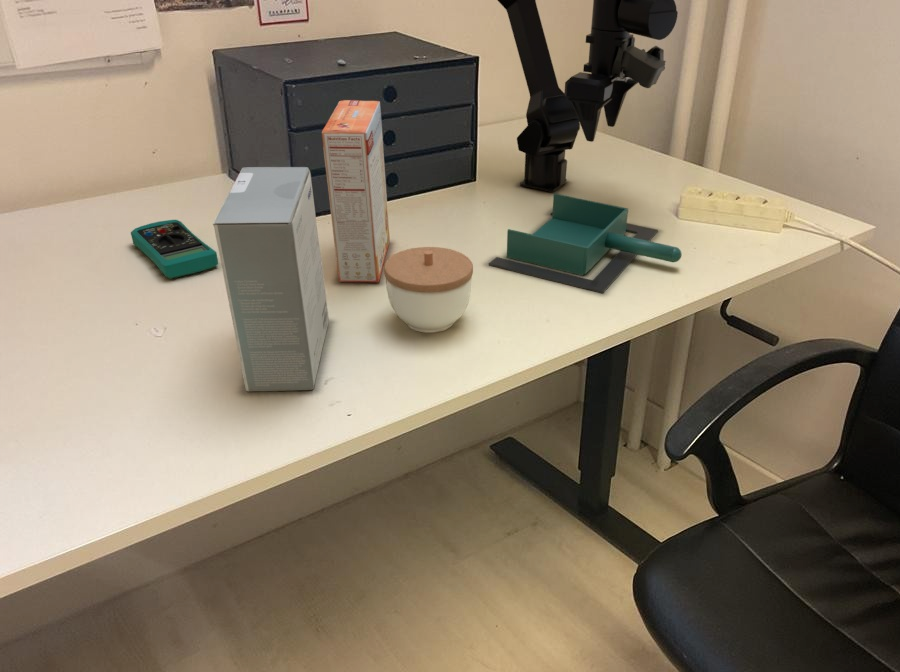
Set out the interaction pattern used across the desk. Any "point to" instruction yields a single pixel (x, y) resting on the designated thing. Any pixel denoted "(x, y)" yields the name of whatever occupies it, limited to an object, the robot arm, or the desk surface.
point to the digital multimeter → (174, 248)
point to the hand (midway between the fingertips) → (600, 133)
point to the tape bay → (596, 284)
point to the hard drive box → (274, 277)
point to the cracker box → (357, 189)
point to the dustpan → (581, 237)
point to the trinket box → (429, 287)
